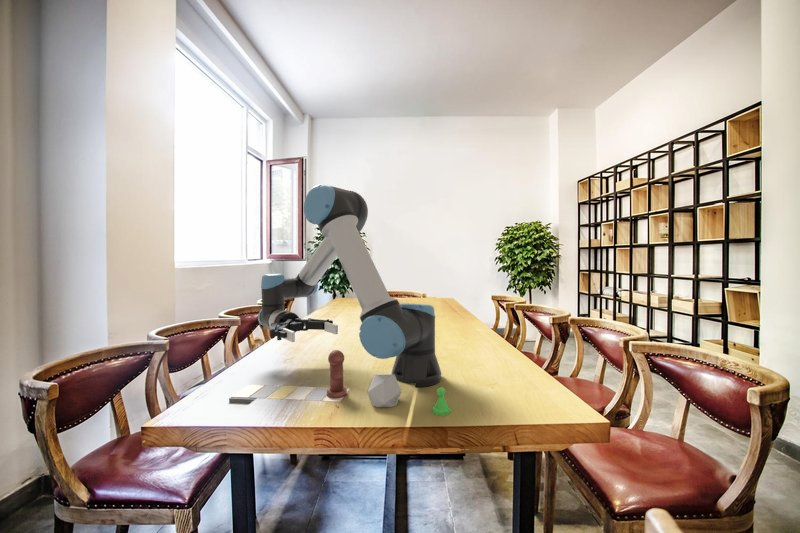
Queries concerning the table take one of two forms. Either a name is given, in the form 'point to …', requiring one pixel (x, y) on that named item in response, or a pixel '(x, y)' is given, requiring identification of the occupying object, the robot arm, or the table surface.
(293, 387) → the board
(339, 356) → the pawn
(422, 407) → the table surface
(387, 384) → the die
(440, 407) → the game piece
